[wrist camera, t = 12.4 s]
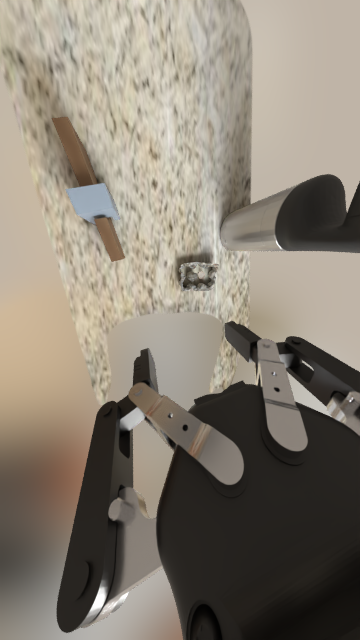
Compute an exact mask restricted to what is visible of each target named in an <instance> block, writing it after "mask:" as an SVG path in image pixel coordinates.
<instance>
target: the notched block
mask: <svg viewBox="0 0 360 640" xmlns="http://www.w3.org/2000/svg"><path fill="white" fill-rule="evenodd" d="M65 190H66V192H67V194H68V196H69V198H70V200H71V203H72V205H73V207H74V209H75V211H76V213H77V215H79V216H80V217H82V218H84V219H86V220H87V221H89V222H91V223H93V224H96V223H95V221H94V219H100V218H105V217H106V218H108V217H113V219H114V220H118V219H120V217H119V214H118V211H117V208H116V205H115V202H114V200H113V198H112V196H111V194H110V192H109V191H108V189H107V187H106V185H105V183H101V184H95V185H89V186H83V187H77V188H71V189H65Z"/></svg>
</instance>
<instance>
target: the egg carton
mask: <svg viewBox="0 0 360 640" xmlns="http://www.w3.org/2000/svg"><path fill="white" fill-rule="evenodd" d="M185 264H187V266H188V267H190V268H193V269H194V268H195V267H196V266H197V264H198V265H199V266H200V267H202V268H208V267H212V270H211V271H210V272H209V273H208V277H209V278H211V282H209V283H208V285H207V286H206V285H205V284H203V283H199V284H198V285H197V287H196V286H195V285H193V284H191V283H189V284H188V285H187V286H186V288H184V287H183V283H182V282H184V280H185V276H184V274H182V272H181V269H182V268H184V267H185ZM217 268H218V264H212V263H208V262H207V263H200V262H192V263H184V264H182V265H181V267H180V268H179V272H180V273H181V280H179V284H180V285H181V288H182V291H209V290H211V289H213V288H214V285H215V279H216V277H215V273H216V272H217ZM197 276H198V278H199V279H202V278H204V276H205V273H204V272H203V271H200V272H199V273H198V275H197V274H196V273H194V272H191V271H190V272H188V273H187V275H186V277H187V279H189V280H190V281H195V280H196V279H197Z"/></svg>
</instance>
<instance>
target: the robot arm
mask: <svg viewBox="0 0 360 640" xmlns="http://www.w3.org/2000/svg"><path fill="white" fill-rule="evenodd" d="M220 237H221V242H222V244H223V246H224V247H225V248H226V249H228V250H230V251H334V252H352V253H360V183H359V185H358V187H357V189H356V192H355V194H354V197H353V199H352V202H351V205H350V207H349V210H348V213H347V212H346V202H345V190H344V186H343V184H342V182H341V181H340V179H339V178H337V177H336V176H334V175H330V174H327V175H320V176H317V177H314V178H312V179H310V180H307V181H305V182H302V183H300V184H298V185H296V186H293V187H291V188H288V189H286V190H284V191H281V192H279V193H277V194H274V195H272V196H269V197H267V198H265V199H262V200H260V201H257V202H255V203H253V204H250V205H248V206H246V207H243V208H241V209H238V210H236V211H234V212H232V213H230V214H229V215H228V216H227V217H226V218H225V220H224V222H223V224H222V226H221V231H220ZM225 337H226V339H227V341H228V342H229V343H230V344H231V345H232V346H233V347H234V348H235V349H236V350H237V351H238V352H239V353H240V354H241V355H242V356H243V357H244V358H245V359H246V361H247V362H249V363H250V362H252V361H254V362H255V377H256V385H252V384H245V383H244V382H243V381H240V382H238V383H235V384H233V385H231V386H229V387H228V388H227V389H225V390H224V391H223V392H222V393H218V394H209V395H205V396H202V397H200V398H197V399H194V402H195V404H194V405H193V406H192V407H191V408H190V409H189V411H186V410H185V409H184V408H182V407H181V406H179V405H178V404H176V403H175V402H174V401H172V400H171V399H170V398H168V397H167V396H165V395H163V396H161V395H160V394H159V393H158V385H157V378H156V369H155V363H154V360H153V357H152V355H151V353H150V350H149V348H147V349H144V350H141V356H140V357H137V358H136V360H135V362H134V375H133V387H132V388H131V389H130V391H129V394H128V395H127V396H126V397H125V398H124V399H122V400H120V401H119V402H118V403H116V402H115V401H110V402H107V403H106V404H104V405H103V406H102V407H101V408H100V410H99V411H98V413H97V416H96V421H95V425H94V430H93V435H92V439H91V444H90V449H89V454H88V458H87V463H86V468H85V472H84V477H83V482H82V487H81V492H80V496H79V501H78V505H77V510H76V515H75V519H74V524H73V529H72V534H71V538H70V543H69V548H68V553H67V557H66V562H65V567H64V571H63V576H62V581H61V586H60V590H59V595H58V601H57V622H58V625H59V627H60V629H61V630H62V631H63V632H66V633H68V632H72V631H74V630H76V629H78V628H80V627H81V628H85V627H88V626H90V625H92V624H94V623H96V622H98V621H100V620H102V619H104V618H105V617H107V616H108V615H109V614H110V613H112V612H114V611H116V610H117V609H118V608H119V607H120V606H121V605H122V604H123V602H124V600H125V599H126V597H127V594H128V592H129V591H130V590H132V589H133V588H135V587H136V586H138V585H139V584H140V583H142V582H144V581H145V580H146V579H148V578H150V577H151V576H152V575H154V574H155V573H157V572H158V571H160V570H161V569H163V568H164V571H165V573H166V575H167V578H168V580H169V583H170V585H171V588H172V591H173V595H174V598H175V602H176V605H177V610H178V614H179V619H180V623H181V629H182V634H183V640H360V372H359V371H357V370H355V369H353V368H351V367H350V366H348V365H347V364H345V363H343V362H342V361H340V360H338V359H336V358H335V357H333V356H331V355H330V354H328V353H326V352H325V351H323V350H321V349H320V348H318V347H316V346H314V345H313V344H311V343H309V342H308V341H306V340H304V339H302V338H300V337H294V336H290V337H287V338H286V340H285V342H280V343H275V342H274V341H272V340H269V339H261V338H260V337H258V336H257V335H256V334H254V333H253V332H252V331H250V330H249V329H248V328H246V327H245V326H243V325H240V324H236V323H235V322H234V321H230V322H227V323H225ZM302 360H303V361H305V362H306V363H307V364H309V365H310V366H311V367H312V368H313V369H314V371H313V370H312V369H310V368H309V367H308V366H306V365H305V364H304V363H302ZM287 372H288V373H289V374H291V375H292V376H293V377H294V378H295V379H296V380H297V381H298V382H299V383H301V384H302V385H303V386H304V387H305V388H306V389H307V390H308V391H309V392H311V393H312V394H313V395H314V396H315V397H316V398H317V399H318V400H319V401H321V402H322V403H323V404H324V405H325V406H326V407H327V410H328V412H329V414H330V415H331V416H332V417H330V416H328V415H325V414H323V413H321V412H318V411H316V410H314V409H311V408H309V407H307V406H305V405H302V404H300V403H298V402H295V401H294V397H293V393H292V390H291V386H290V383H289V379H288V375H287ZM142 420H145V421H146V422H147V423H148V424H149V425H150V426H151V427H152V428H153V429H154V430H155V431H156V432H157V433H158V434H159V436H160V437H161V438H162V439H163V440H164V441H165V443H166V444H167V445H168V446H169V447H170V448H171V449H172V450H173V451H174V454H173V457H172V461H171V464H170V467H169V471H168V474H167V478H166V481H165V484H164V487H163V490H162V494H161V497H160V501H159V505H158V509H157V517H156V518H153V519H151V518H150V517H149V515H148V513H147V510H146V504H145V500H144V497H143V496H142V495H141V494H140V493H139V492H137V491H136V490H134V489H133V427H135V426H136V425H137V424H138V423H140V422H141V421H142Z"/></svg>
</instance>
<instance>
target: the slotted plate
mask: <svg viewBox="0 0 360 640" xmlns="http://www.w3.org/2000/svg"><path fill="white" fill-rule="evenodd" d="M52 120H53V123H54V125H55V127H56V130H57V132H58V135H59V137H60V139H61V142H62V144H63V147H64V149H65V151H66V154H67V156H68V158H69V161H70V163H71V166H72V168H73V170H74V173H75V175H76V178H77V180H78V182H79V185H80V187H83V186H89V185H95V184H98V182H97V180H96V177H95V174H94V171H93V169H92V166H91V163H90V161H89V158H88V155H87V152H86V150H85V148H84V146H83V144H82V142H81V141H80V139H79V137H78V135H77V133H76V131H75V130H74V128H73V126H72V124H71V122H70V120H69V119H68V117H61V118H52ZM94 221H95V223H96V225H97V228H98V230H99V233H100V235H101V237H102V240H103V242H104V245H105V247H106V249H107V252H108V254H109V256H110V259H111V261H112V262H113V261H117V260H121V259H124V258H125V256H124V253H123V250H122V248H121V245H120V242H119V239H118V237H117V234H116V231H115V229H114V226H113V223H112V220H111V218H110V217H108V218H106V217H105V218H100V219H94Z"/></svg>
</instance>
